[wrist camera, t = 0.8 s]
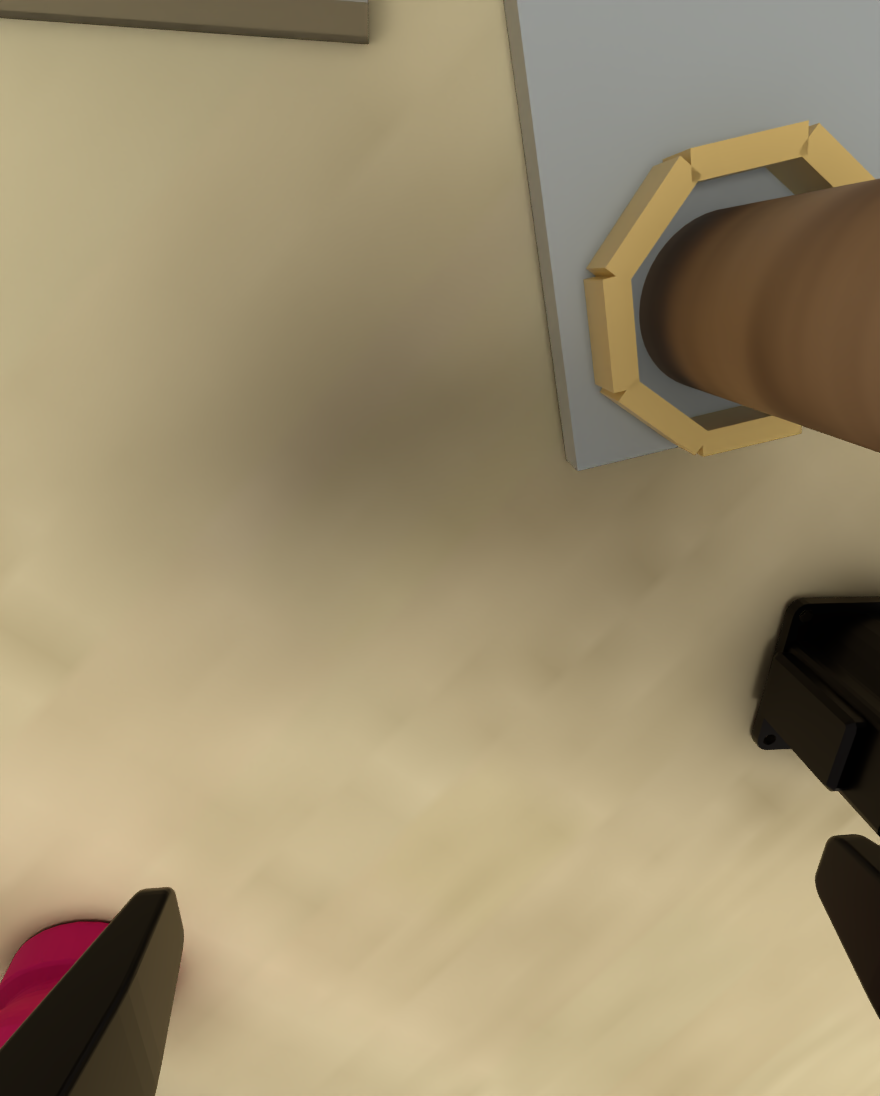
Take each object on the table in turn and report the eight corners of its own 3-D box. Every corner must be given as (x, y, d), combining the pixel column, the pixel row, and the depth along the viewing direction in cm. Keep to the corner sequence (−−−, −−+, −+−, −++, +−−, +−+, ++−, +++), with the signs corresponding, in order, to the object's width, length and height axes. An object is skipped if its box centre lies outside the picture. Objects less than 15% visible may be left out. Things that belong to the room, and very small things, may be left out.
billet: (822, 211, 17) (1522, 110, 6) (779, 389, 18) (1275, 526, 8) (654, 203, 16) (1128, 81, 6) (627, 387, 18) (958, 530, 8)
